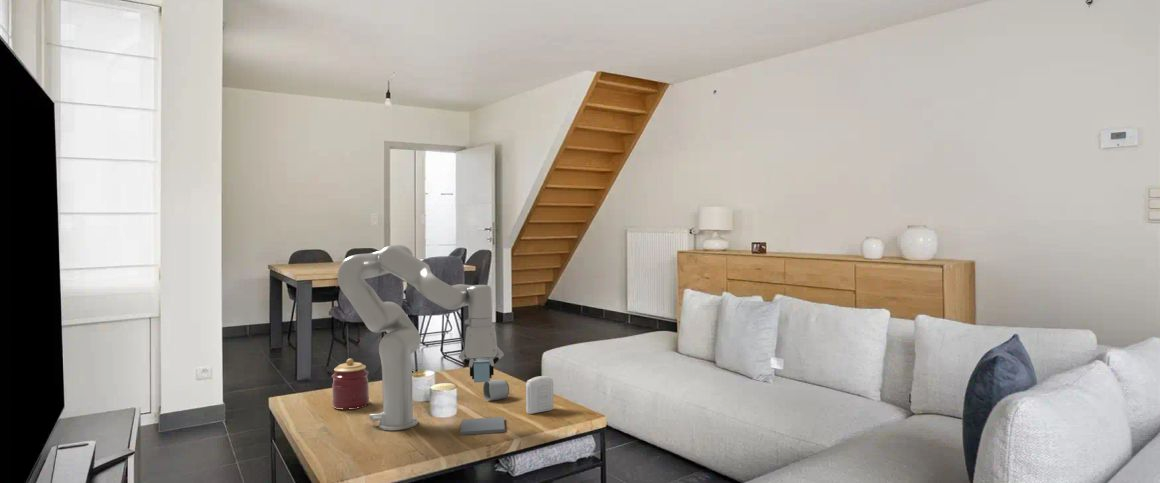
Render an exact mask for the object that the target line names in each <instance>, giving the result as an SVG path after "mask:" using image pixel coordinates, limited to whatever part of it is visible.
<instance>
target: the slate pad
mask: <svg viewBox="0 0 1160 483" xmlns="http://www.w3.org/2000/svg"><path fill="white" fill-rule="evenodd" d="M505 428H506V427H505V417H504V416H495V417H481V418H466V419H464V418H463V419H461V424H460V432H459V433H460V434H459V435H460V436H465V435H477V434H478V435H481V434H493V433H494V434H496V433H497V434H498V433H505V432H506V429H505Z"/></svg>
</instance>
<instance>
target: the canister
mask: <svg viewBox="0 0 1160 483" xmlns="http://www.w3.org/2000/svg"><path fill="white" fill-rule="evenodd" d="M366 368H367V366H366V365H365V364H363V363H362V362H356V361H354V359H353V358H348V359H346V362H344V363H340V364H338V365H337V366H336V367H334V369H333V370H334V373H333V374H332V375H331V378H332V379H333V380H332V381H333V382H332V384H331V386H332V401H331V402H332V404H331V405H332V406H334V407H336V408H343V409H349V408H357V407H361V408H363V407H362V406H364V407H366V406H368V405H369V404H368V403H369V402H370V396H369V392H370V391H369V380H368V375H369V373H370V372H369V371H368V370H366ZM367 404H368V405H367ZM365 405H366V406H365ZM334 407H333V408H334ZM357 409H358V408H357Z"/></svg>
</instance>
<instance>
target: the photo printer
mask: <svg viewBox="0 0 1160 483" xmlns="http://www.w3.org/2000/svg"><path fill="white" fill-rule="evenodd" d="M552 410H554V381H553V378H552V377H551V376H547V375H541V376H540V375H539V376H535V377H532V378H530V379H527V381H526V382H525V411H526V413H527V414H529V415H532V414H538V413H543V412H548V411H552Z"/></svg>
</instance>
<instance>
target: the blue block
mask: <svg viewBox="0 0 1160 483" xmlns="http://www.w3.org/2000/svg"><path fill="white" fill-rule="evenodd" d="M473 364H474V379H473V383H485V382H490V380H491V378H490V372H489V365H490V361H489V359H488V360H487V359H485V360H474V362H473Z"/></svg>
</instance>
